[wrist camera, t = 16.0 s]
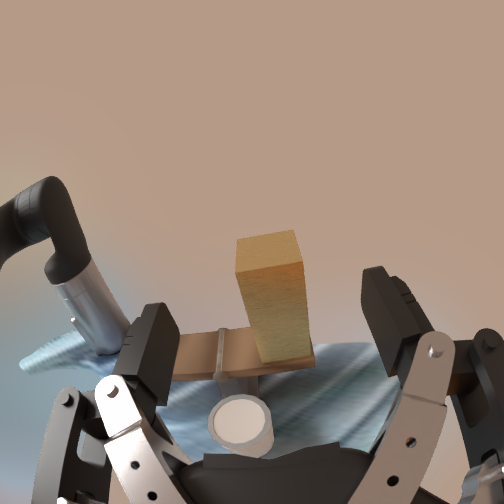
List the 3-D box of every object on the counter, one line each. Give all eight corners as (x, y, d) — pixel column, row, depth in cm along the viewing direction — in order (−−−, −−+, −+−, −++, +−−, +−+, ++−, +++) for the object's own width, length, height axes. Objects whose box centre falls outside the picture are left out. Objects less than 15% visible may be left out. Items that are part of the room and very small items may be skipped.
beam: (306, 324, 32) (305, 315, 31) (315, 369, 26) (315, 361, 25) (154, 342, 33) (149, 334, 33) (143, 383, 28) (136, 376, 27)
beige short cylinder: (232, 469, 24) (213, 455, 21) (220, 425, 30) (202, 402, 26) (286, 453, 25) (280, 437, 21) (269, 410, 31) (260, 385, 27)
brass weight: (304, 322, 30) (293, 229, 24) (311, 357, 26) (302, 261, 19) (260, 329, 30) (237, 239, 24) (262, 365, 26) (235, 272, 20)
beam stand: (258, 367, 37) (245, 332, 33) (259, 415, 30) (246, 386, 26) (225, 371, 38) (207, 336, 33) (222, 417, 31) (201, 389, 27)
